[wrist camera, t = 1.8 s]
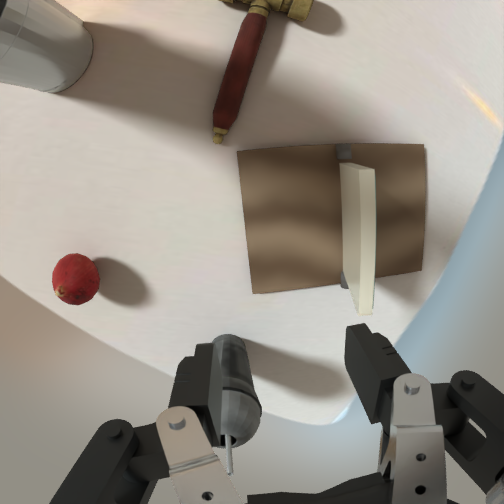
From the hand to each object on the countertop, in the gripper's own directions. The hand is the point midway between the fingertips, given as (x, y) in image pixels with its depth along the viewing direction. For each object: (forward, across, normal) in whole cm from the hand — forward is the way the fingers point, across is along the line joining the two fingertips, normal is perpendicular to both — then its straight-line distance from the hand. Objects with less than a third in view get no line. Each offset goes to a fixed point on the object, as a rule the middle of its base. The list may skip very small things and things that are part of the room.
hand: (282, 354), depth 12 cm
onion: (+24, +21, +3) cm, 32 cm away
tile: (+16, -8, 0) cm, 18 cm away
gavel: (+24, -1, -19) cm, 31 cm away
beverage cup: (+24, +5, +16) cm, 29 cm away
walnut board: (+23, -10, 0) cm, 25 cm away
